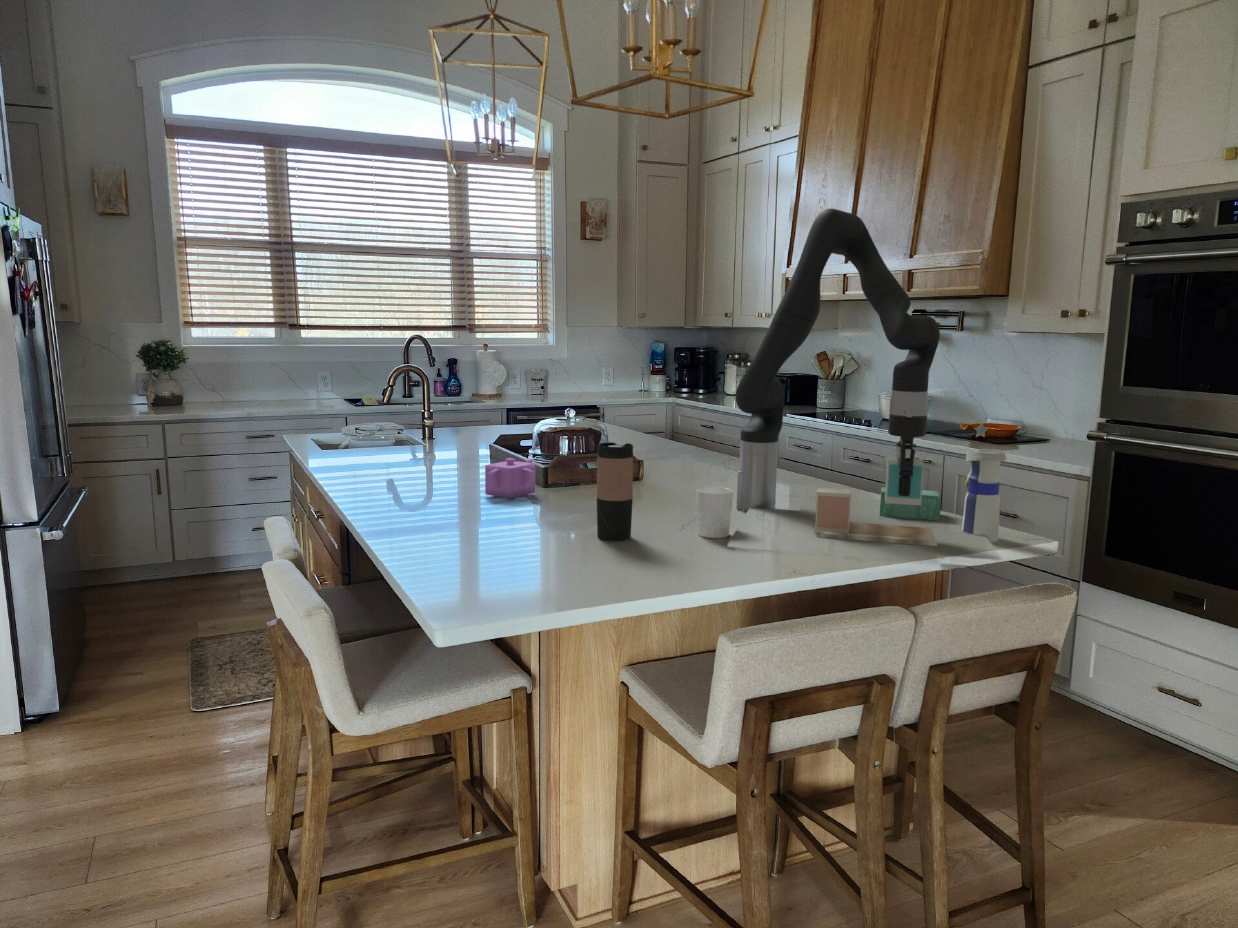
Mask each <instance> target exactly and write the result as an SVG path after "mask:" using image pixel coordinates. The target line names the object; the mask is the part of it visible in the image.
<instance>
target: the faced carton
mask: <svg viewBox="0 0 1238 928" xmlns="http://www.w3.org/2000/svg"><path fill="white" fill-rule="evenodd" d="M851 498H852V489H848V488H847V489H842V488H827V487H818V488H817V490H816V502H815V503H816V507H815V526H814V534H817V531H820V532H834V533H848V534H849V522H851V521H850V519H851V518H850V517H851V503H852V501H851V500H852V499H851Z"/></svg>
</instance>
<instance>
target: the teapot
mask: <svg viewBox="0 0 1238 928" xmlns="http://www.w3.org/2000/svg"><path fill="white" fill-rule="evenodd" d="M534 460H535V459H534V458H530V459H528V460H526V461H525V462H524V461H516V459H515V458H511V457H509V458H508V457H507V458H505V461H500V462H495V463H489V464H486V465H484V472H485V473H484V481H485V482H484V484H485V485H484V487H485V493H484V495H486V496H492V497H494V498H507V500H509V501H511V500H516V498H518V497H521V498H525V497H527V496H528V495H530V494H534V493H536V464H535V463H533V461H534Z"/></svg>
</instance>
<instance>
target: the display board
mask: <svg viewBox="0 0 1238 928" xmlns="http://www.w3.org/2000/svg"><path fill="white" fill-rule="evenodd" d="M816 537H817V538H823V539H835V540H851V541H863V542H864V541H869V542H876V543H877V542H880V543H890V544H901V545H918V546H919V545H920V546H932V547H937V546H938V542H939V541H938V540H937V539H935V536H934V534H933V531H932V529H931V527H925V526H924V527H921V526H909V525H896V524H895V525H893V524H882V523H867V522H854V521H853V522H851V521H849V534H848V533H834V532H820V531H817V533H816Z"/></svg>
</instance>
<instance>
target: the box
mask: <svg viewBox="0 0 1238 928" xmlns="http://www.w3.org/2000/svg"><path fill="white" fill-rule="evenodd" d="M885 489H886V486H885V487H882V486H881V489H880V498H879V499H880V500H879V510H878V511H879V513H878V514H879V517H891V518H892V517H893V518H905V519H906V518H907V519H917V520H931V521H933V520H935V521H940V517H941V497H940V494H939V491H936V490H925V489H922V498H921V505H907V504H891V503H886V502H885Z"/></svg>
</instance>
